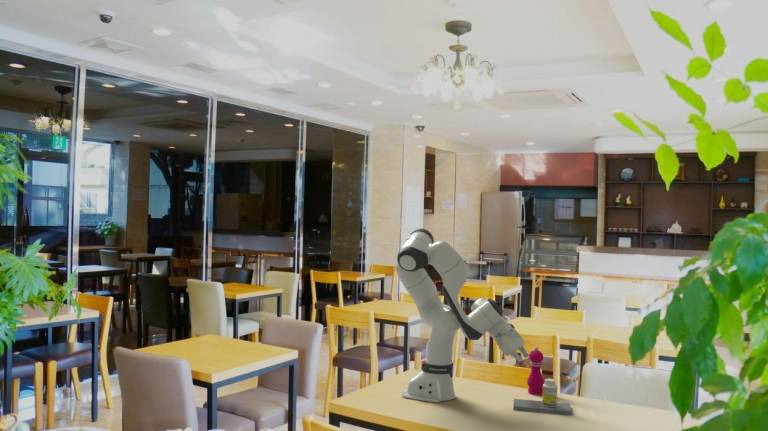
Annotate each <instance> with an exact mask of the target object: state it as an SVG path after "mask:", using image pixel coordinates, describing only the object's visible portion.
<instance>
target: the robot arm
mask: <svg viewBox="0 0 768 431" xmlns="http://www.w3.org/2000/svg"><path fill="white" fill-rule="evenodd" d="M396 256H397V258H396V260H397V262H396V264H395V272H396V274H397V276H398V278H399V280H400V282H401V283H402V285H403V286H404V288H405V290H406V291H407V294H408V295H409V296H410V298H411V299H412V300H413V302H414V303H415V304H414V305H415V306H416V308H417V311H418V313H419V317H420V320H421V321H422V322H423V323H424V324H425V325H427V326H428V327H430V328H431V333H430V337H429V340H427V342H426V347H425V348H426V349H425V350H426V352H425V359H423V360H422V361H421V365H420V368H421V369H420V370H419V371H418V372H416V373H415V374H414V375H412V376H411V377H410V379H409V380H408V383H407V387H405V388H404V389H403V390H402V392H401V397H403V398H406V399H411V400H416V401H417V400H419V401H424V402H430V403H440V402H446V401H450V400H453V399H455V398H456V393H455V388H454V380H453V376H454V362H453V355H454V354H453V351H454V342H455V337H456V334H457V331H458V330H459V329H460V331H461V332H462V334H463V336H465V338H467V340H469V341H479V340H480V339H481V338H482V337H483V336H484V335H485V333H488V334H489V336H491V338H492V339H493V340H494V342H495V343H496V345H497V347H498V348H499V349H500V351H501V352H502V353H503V354H504V355H505V356H506V357H508V356H511V357H512V358H514V360H516V361H517V362H518V363H521V362H522V361H524V359H527V358H529V354H530V353H528V352H527V350H526V348H525V344H526V342H525V340H524V338H523V337H522V336H521V334H520V333H519V332H518V331H517V330H516V327H515V325H514V324H512V323H509V322H508V321H507V320H506V319H505V318H503V315H504V309H503V308H501V307H500V306H499V304H498V303H497V302H496V300H493V299H486V298H485V297H480V298H478V299H476V300H475V301H474V302H473V303H472V304H471V306H470V310H471V312H470V313H469V314H466V313H465V311H464V310H463V307H462V306H461V304H460V301H459V294H460V293H461V290H462V288H464V287H463V286H464V285H465V284H466V282H467V279H468V276H469V267H468V265H467V264H466V262H465V261H464V259H463V257H462V256H461V255H460V254H459V253H458V251H456V249H454V247H453V246H452V245H451V244H450V243H448V242H447V241H446V240H442V239H441V240H436V241H435V239H434V236H433V233H431V232H430V231H429V230H428V229H425V228H417V229H415V230H413V231H412V232H411V233H410V234H409V236H408V237H407V238H405V240H404V241H403V244H402V246H401V248H400V249H399V251H398V253H397V255H396ZM428 265H431V266H432V267H433V268H434V269H435V270H436V272H437V273H438V274H439V276H440V277H441V280H442V287H441V291H442V293H443V294H442V295H443V296H444V298H445V300H446V303H447V304H448V305H447V304H445V303H443V301H442V300H441V298H440V295H439V294H438V288H437V286H436V284H435V282H433V280H432V278H431V277H430V276H429V274H428V272H427V270H426V268H427V267H428ZM517 351H519V352H520V353H521V354H522V356H523V357H522V356H521V355H519V354H518V353H517ZM523 358H524V359H523Z"/></svg>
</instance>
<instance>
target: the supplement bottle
mask: <svg viewBox="0 0 768 431" xmlns="http://www.w3.org/2000/svg"><path fill="white" fill-rule="evenodd" d="M542 389H543V394H542V400H541V401H542V402H543V405H544V406H546V407H556V406H557V403H558V385H557V384H556V379H554V378H545V379H544V384H543V387H542Z"/></svg>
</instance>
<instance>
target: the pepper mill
mask: <svg viewBox="0 0 768 431" xmlns="http://www.w3.org/2000/svg"><path fill="white" fill-rule="evenodd" d="M528 354H529V356H528V358H529V359H530V363H529V365H530V367H531V368H530V369H531V370H530V373H529V376H528V377H527V382H526V383H527V384H526V385H527V386H528V388H527V393H528V394H529V395H534V396H541V395H542V396H543V384H545V379H544V378H543V375H542V373H541V371H542V370H541V369H542V368H541V367H542V366H543V362H542V361H543V360H544V354H543V353H542V352H541V351H540V350H539V347H538V346H535V347H534V350H531V351H530V352H529V353H528Z"/></svg>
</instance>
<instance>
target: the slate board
mask: <svg viewBox="0 0 768 431" xmlns="http://www.w3.org/2000/svg"><path fill="white" fill-rule="evenodd" d="M542 401H543V400H531V399H522V398H521V399H520V398H513V406H512V407H513V408H512V409H513V411H523V412H534V413H541V414H542V413H543V414H545V413H546V414H554V415H556V414H557V415H563V416H564V415H565V416H573V414H572V413H573V412H572V411H573V410H572V406H571V404H570V403H567V402H557V406H556V407H546V406H544V405H543V402H542Z"/></svg>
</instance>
